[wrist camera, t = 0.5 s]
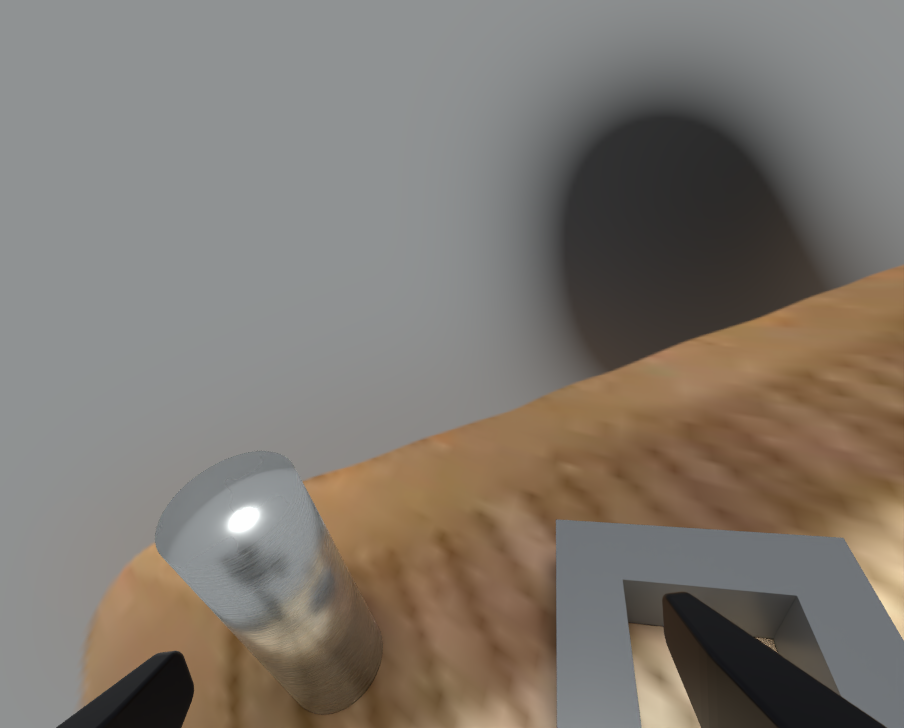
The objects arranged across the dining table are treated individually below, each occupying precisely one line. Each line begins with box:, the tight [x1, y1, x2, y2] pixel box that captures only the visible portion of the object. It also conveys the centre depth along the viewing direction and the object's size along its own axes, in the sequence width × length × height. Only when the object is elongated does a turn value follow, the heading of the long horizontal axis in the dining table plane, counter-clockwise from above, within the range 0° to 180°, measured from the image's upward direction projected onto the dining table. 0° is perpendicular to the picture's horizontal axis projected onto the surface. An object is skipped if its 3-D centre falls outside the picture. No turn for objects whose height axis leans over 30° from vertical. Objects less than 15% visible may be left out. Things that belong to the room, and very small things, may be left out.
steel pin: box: [155, 451, 383, 714], centre depth 20 cm, size 5×5×13 cm
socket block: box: [556, 520, 904, 728], centre depth 18 cm, size 13×13×4 cm
